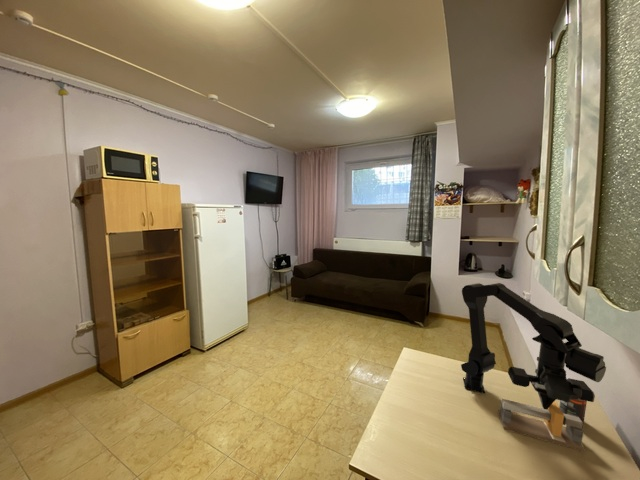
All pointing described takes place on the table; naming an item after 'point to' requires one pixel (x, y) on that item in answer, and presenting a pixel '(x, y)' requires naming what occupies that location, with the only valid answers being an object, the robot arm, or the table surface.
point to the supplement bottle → (574, 408)
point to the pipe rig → (540, 424)
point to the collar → (555, 420)
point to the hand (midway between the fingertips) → (544, 408)
